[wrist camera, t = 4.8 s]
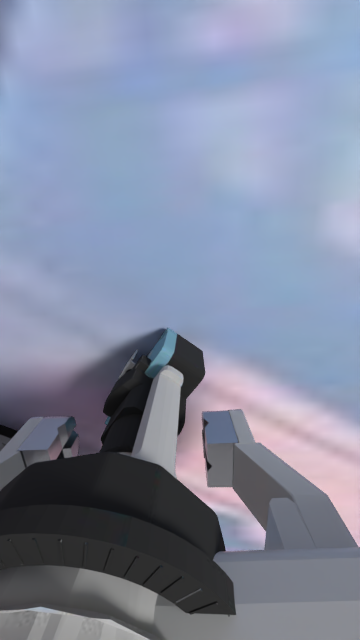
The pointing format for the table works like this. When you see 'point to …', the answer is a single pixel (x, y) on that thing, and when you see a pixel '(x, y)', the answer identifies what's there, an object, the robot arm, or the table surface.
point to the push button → (114, 520)
